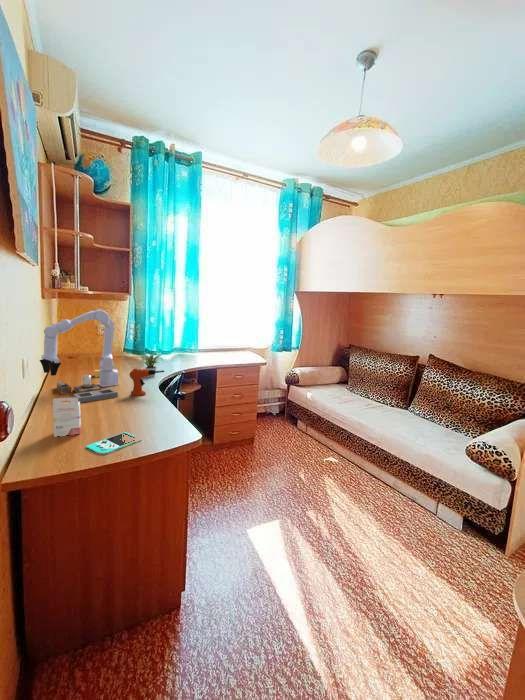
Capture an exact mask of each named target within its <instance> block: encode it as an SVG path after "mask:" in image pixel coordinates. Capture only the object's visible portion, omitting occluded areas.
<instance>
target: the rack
mask: <svg viewBox="0 0 525 700" xmlns="http://www.w3.org/2000/svg"><path fill="white" fill-rule="evenodd" d="M118 395H119V392H118V391H116V390H115V389H113V388H105V389H101V390H97V391H91V392H84V393H74V394H73V398H76V397H77V398H78V402H80V404H82V402H83V403H88V402H94V401H101V400H106V399H107V400H108V399H113V398H118Z"/></svg>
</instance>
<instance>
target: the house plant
mask: <svg viewBox="0 0 525 700" xmlns="http://www.w3.org/2000/svg"><path fill="white" fill-rule="evenodd" d="M148 354H149V357H147V355H145V354H143V356H142V357H143V358H144V359H145V361H143V362H142V364H145V365H146V366H145V368H144V369H147V370H155V371H157V366H156V365H155V364H157V363H158V364H160V361H159V362H158V358H159V357H160V354H158V355H156V356H155V357H154V352H152V354H151V353H150V352H149V353H148ZM154 365H155V366H154ZM154 377H156V373H155V374H154V375H149V376H147V377H146V378H154Z"/></svg>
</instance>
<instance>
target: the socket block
mask: <svg viewBox="0 0 525 700" xmlns="http://www.w3.org/2000/svg"><path fill="white" fill-rule="evenodd" d="M91 385H92V388H88V389H83V384H82V385H75V386H73V392H75V394H77V393H84V392H91V391H97V390H102V387H101V386H99V385H98V384H95V383H91Z"/></svg>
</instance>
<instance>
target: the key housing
mask: <svg viewBox="0 0 525 700" xmlns="http://www.w3.org/2000/svg"><path fill="white" fill-rule="evenodd" d="M63 383H64V384H65V385H66V387H62V386H61V385H59V384H56V391H57V390H58V391H59V394H61V395H68V394H67V393H69V394H72V386H70V385H69V383H67V382H63ZM58 391H57V392H58Z"/></svg>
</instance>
